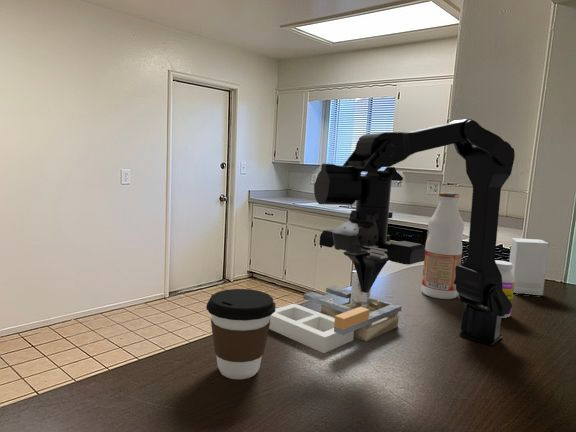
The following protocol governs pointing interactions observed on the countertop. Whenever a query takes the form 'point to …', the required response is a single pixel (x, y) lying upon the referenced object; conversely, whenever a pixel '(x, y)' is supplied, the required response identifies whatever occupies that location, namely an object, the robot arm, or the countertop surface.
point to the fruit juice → (443, 248)
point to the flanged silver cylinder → (359, 296)
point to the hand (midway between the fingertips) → (365, 292)
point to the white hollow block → (308, 327)
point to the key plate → (343, 308)
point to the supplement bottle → (506, 280)
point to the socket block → (371, 329)
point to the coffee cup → (240, 330)
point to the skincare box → (528, 265)
